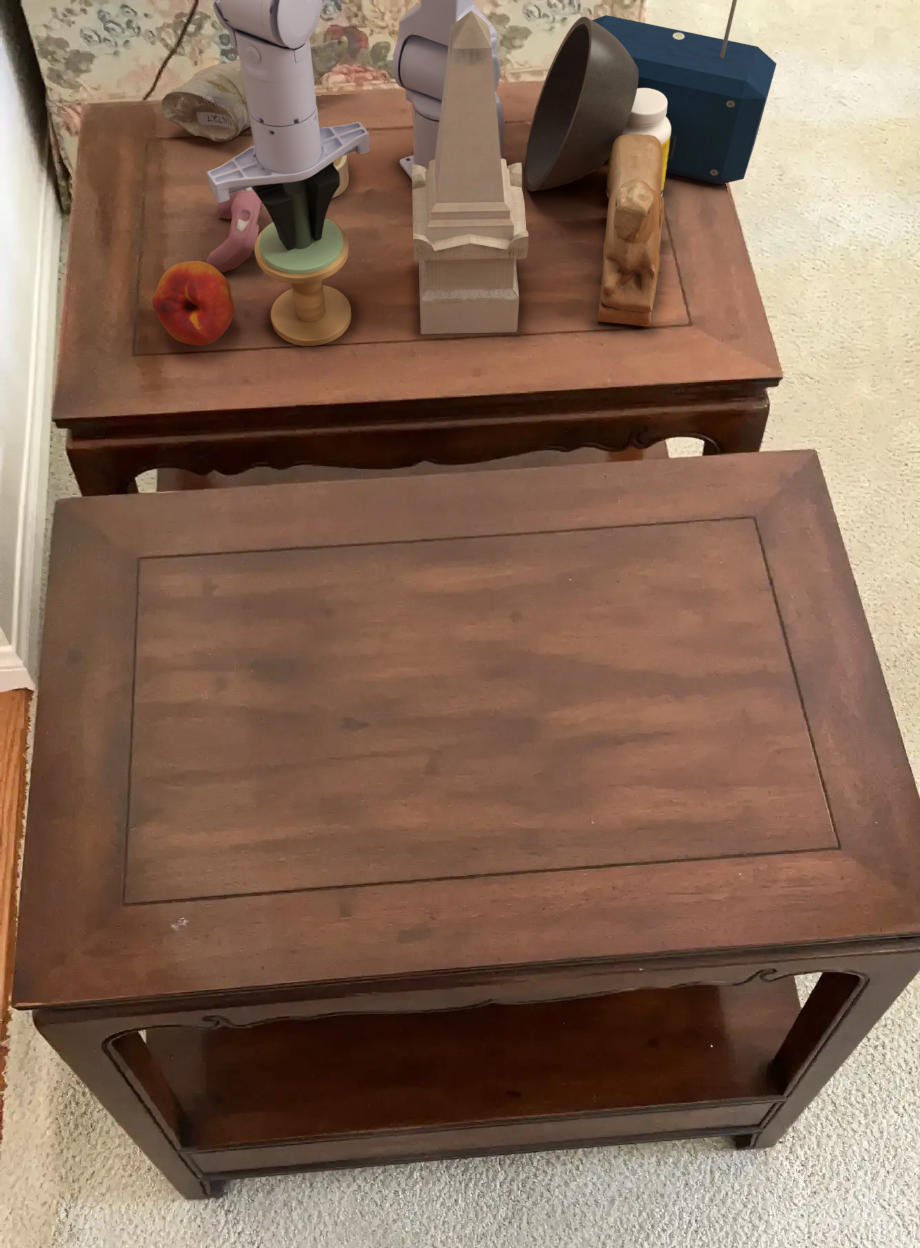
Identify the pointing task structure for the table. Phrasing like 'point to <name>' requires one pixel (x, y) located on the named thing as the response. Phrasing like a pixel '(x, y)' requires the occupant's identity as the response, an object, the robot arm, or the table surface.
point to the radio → (701, 94)
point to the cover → (301, 239)
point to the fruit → (194, 302)
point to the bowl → (580, 107)
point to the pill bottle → (649, 123)
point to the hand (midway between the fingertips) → (300, 238)
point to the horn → (230, 95)
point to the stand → (309, 303)
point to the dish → (342, 174)
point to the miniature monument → (468, 201)
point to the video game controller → (237, 230)
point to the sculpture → (632, 231)
